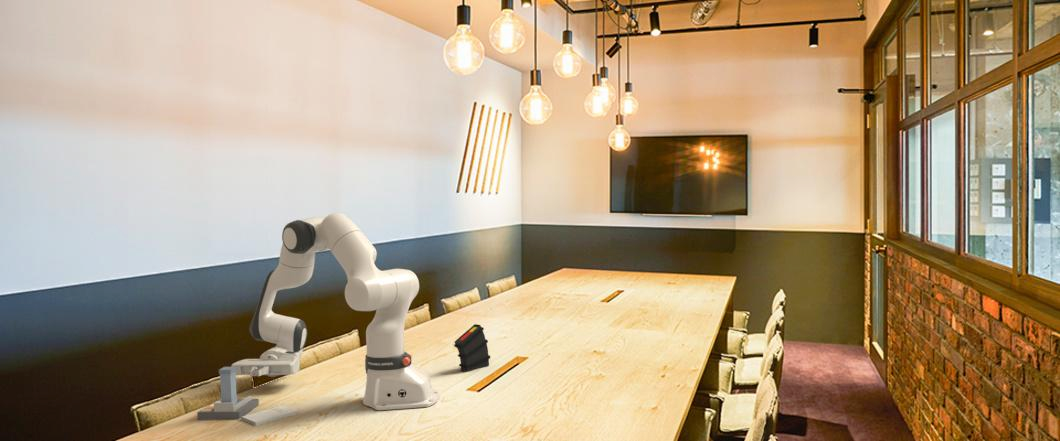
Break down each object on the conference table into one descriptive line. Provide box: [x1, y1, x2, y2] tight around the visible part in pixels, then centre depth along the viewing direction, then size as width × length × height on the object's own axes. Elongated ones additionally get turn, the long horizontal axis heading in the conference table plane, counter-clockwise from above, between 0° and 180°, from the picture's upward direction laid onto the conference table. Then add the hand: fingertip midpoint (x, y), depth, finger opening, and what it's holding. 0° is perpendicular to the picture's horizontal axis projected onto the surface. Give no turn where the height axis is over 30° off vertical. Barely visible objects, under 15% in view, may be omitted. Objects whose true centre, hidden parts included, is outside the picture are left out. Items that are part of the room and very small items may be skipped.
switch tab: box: [218, 366, 238, 405], centre depth 190 cm, size 3×3×11 cm
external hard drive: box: [240, 405, 298, 427], centre depth 189 cm, size 2×8×12 cm
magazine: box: [453, 323, 491, 373], centre depth 234 cm, size 4×13×15 cm, turn 136°
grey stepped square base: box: [196, 395, 260, 420], centre depth 193 cm, size 12×12×4 cm
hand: (254, 373), depth 207 cm, fingers closed
